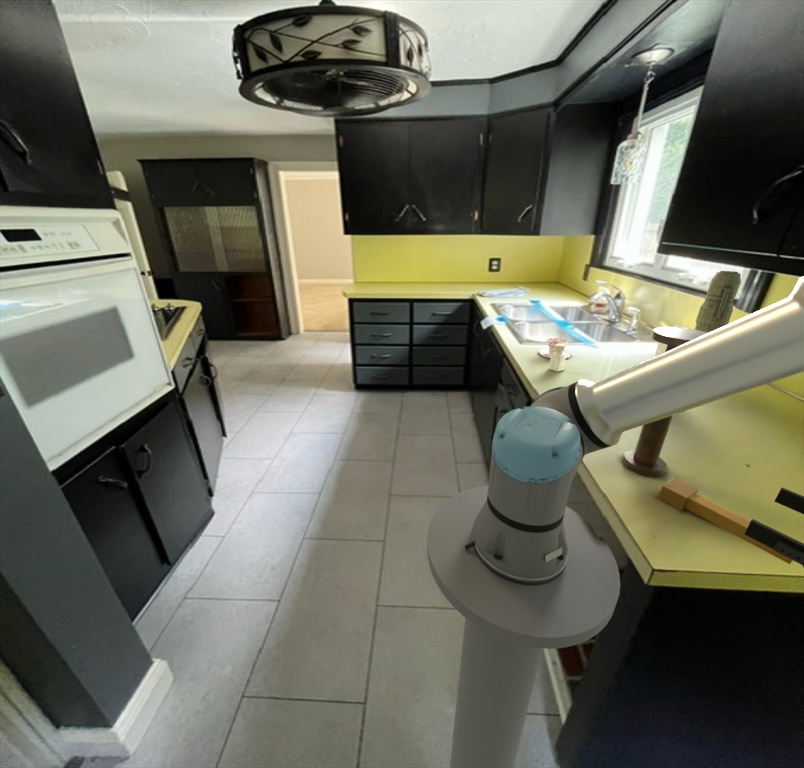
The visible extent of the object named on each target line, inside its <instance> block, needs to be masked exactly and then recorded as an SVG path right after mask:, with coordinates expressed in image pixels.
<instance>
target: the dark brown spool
mask: <svg viewBox="0 0 804 768" xmlns="http://www.w3.org/2000/svg"><path fill="white" fill-rule="evenodd" d="M705 334H708V332H704V331H699V330H695V328H693V329H692V328H687V327H685V328H678V327H673V326H662V327H655V328H654V329H653V331H652V335H651V339H652V340H654V341H655V342H657V343H659V342H660V343H663V344H666V345H667V347H666V350H665V352H667V351H669V350H672V349H674V348H676V347H678V346H681V345H683V344H685V343H687V342H690V341H692V340H694V339H696V338H699V337H701V336H703V335H705ZM673 417H674V415H672V416H669V417H666V418H663V419H660V420H657V421H654V422H651V423H648V424H645V425H642V426H641V430H640V432H639V437H638V440H637V443H636V447H635V449H630V450H626V451H625V452H624V453H623V455H622V456H623V457H622V464H623V465H624V466H625V467H626V468H627V469H628V470H630V471H631V472H633V473H636V474H638V475H641V476H645V477H650V478H651V477H652V478H658V477H662V476H663V475H665V473H666V470H667V468H668V466H667V463H666V461H665V460H664V459H662V458H661V457H660V455H661V453H662V450H663V447H664V443H665V441H666V437H667V435H668V432H669V429H670V425H671V423H672V420H673Z"/></svg>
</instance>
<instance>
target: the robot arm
mask: <svg viewBox="0 0 804 768" xmlns="http://www.w3.org/2000/svg"><path fill="white" fill-rule="evenodd" d="M801 373H804V275H803V276H800V277H799V278H798V280H797V282H796V283H795V286H794V287H793V290H792V291H791V293H790V294H789V296H787V298H784V299H782V300H780V301H777V302H776V303H773V304H771V305H768V306H767V307H764V308H761V309H760V310H756V311H755V312H753V313H750V314H748V315H746V316H744V317H742V318H739V319H737V320H735V321H733V322H729V323H728V325H726V326H723V327H721V328H719V329H717V330H714V331H712V332H710V333H708V334H705V335H703V336H701V337H699V338H696V339H694V340H692V341H690V342H687V343H685V344H683V345H681V346H678V347H676V348H674V349H672V350H669V351H667V352H665V353H663V354H661V355H658V356H656V357H655V356H653V357H651V358H650V359H647V360H645V361H642V362H641V363H638V364H635V365H634V366H631V367H628V368H626V369H625V370H622V371H620V372H618V373H616V374H613V375H611V376H609V377H606V378H605V379H602V380H600V381H598V382H593V381H590V380H587V379H579V380H578V381H575V382H572V383H571V384H569V385H559V386H555V387H553V388H550V389H547V390H545V391H544V392H542V393H541V394H539V395H538V396H537V397H536V398H535V399H534V400H533V402H532V403H531V404H530V406H524V407H523V408H519V407H518V408H515V409H512V410H510V411H508V412H506V413H505V414H504V415H503V416H502V417H500V419H499V420H498V422H497V424H496V427H495V431H494V433H493V438H492V442H491V449H492V450H491V459H490V466H489V467H490V468H489V476H488V485H487V486H488V495H487V500H486V502H485V503H484V505H483V507H482V508H481V510H480V512H479V514H478V515H477V517H476V519H475V521H474V524H473V528H472V542H471V543H469V544H467V545H465V546H464V547H465V549H466V550H467V549H469V548H471V547H473V548H474V551H475V553H476V555H477V556H478V558H479V559H480V560H481V562H482V563H483V564H484V565H485V566H486V567H487V568H488V569H490V570H491V571H492V572H494V573H495V574H497V575H498V576H500V577H502V578H504V579H506V580H509V581H511V582H515V583H518V584H524V585H541V584H546V583H549V582H551V581H553V580H555V579H556V578H558V577H559V576H560V575H561V574H562V572H563V571H564V569H565V566H566V563H567V558H568V543H567V538H566V533H565V528H564V522H563V517H564V513H565V509H566V506H567V505H568V501H569V495H570V492H571V487H572V484H573V480H574V478H575V476H576V474H577V471H578V470H579V468H580V466H581V463H582V462H583V459H584V457H585V456H586V455H588V454H591V453H594V452H597V451H600V450H604V449H607V448H610V447H613V446H617V444H619V442H620V439H621V436H622V434H623V433H624V432H627V431H630V430H633V429H635V428H639V427H642V426H643V425H645V424H648V423H651V422H654V421H657V420H660V419H663V418H666V417H669V416H672V415H673V416H674V415H677V414H678V415H679V414H680V413H684V412H686V411H690V410H693V409H695V408H696V409H697V408H699V407H701V406H705V405H709V404H712V403H714V402H717V401H720V400H723V399H727V398H728V397H731V396H735V395H738V394H741V393H744V392H747V391H750V390H752V389H753V390H754V389H756V388H759V387H762V386H765V385H768V384H771V383H773V382H777V381H780V380H784V379H787V378H789V377H792V376H795V375H797V374H801ZM773 501H774V503H777V504H779V505H781V506H784V507H786V508H788V509H790V510H793V511H795V512H797V513H799V514H801V515H804V495H801V494H800V493H797V492H794V491H792V490H790V489H788V488H785V487H781V488H780V489H779V491H778V493H777V495H776V497H775V499H774V500H773ZM745 535H746V536H748V537H750V538H752V539H754V540H756V541H758V542H760V543H762V544H764V545H766V546H768V547H770V548H772V549H773V550H775V551H776V552H778V553H780V554H782V555H784V556H786V557H787V558H789V559H791V560H793V561H792V562H795V563H797V564H799V565H801V566H802V567H803V569H804V543H803V542H802V541H799V540H797V539H796V538H794V537H791V536H789V535H787V534H785V533H783V532H781V531H779V530H777V529H774V528H772V527H771V526H768V525H766V524H764V523H762V522H760V521H759V520H756V519H754V518H752V519H751V520H750V524H749V526H748V528H747V530H746V532H745Z"/></svg>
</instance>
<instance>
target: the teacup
mask: <svg viewBox="0 0 804 768" xmlns="http://www.w3.org/2000/svg"><path fill="white" fill-rule="evenodd" d="M546 342H547V345H548V348H543V349H541V350H539V351H538V354H539V355H540V356H541V357H545V358H548V359H551V354H552V353H553V352H555V345H556V344H563V345H565V346H566V345H567V344H568V343H569V341H568V340H566V339H564V338H561V337H548V338H546ZM564 354H566V358H565V360H566V359H569V358H570V357H571V354H570V352H567V351H565V350H564Z"/></svg>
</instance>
